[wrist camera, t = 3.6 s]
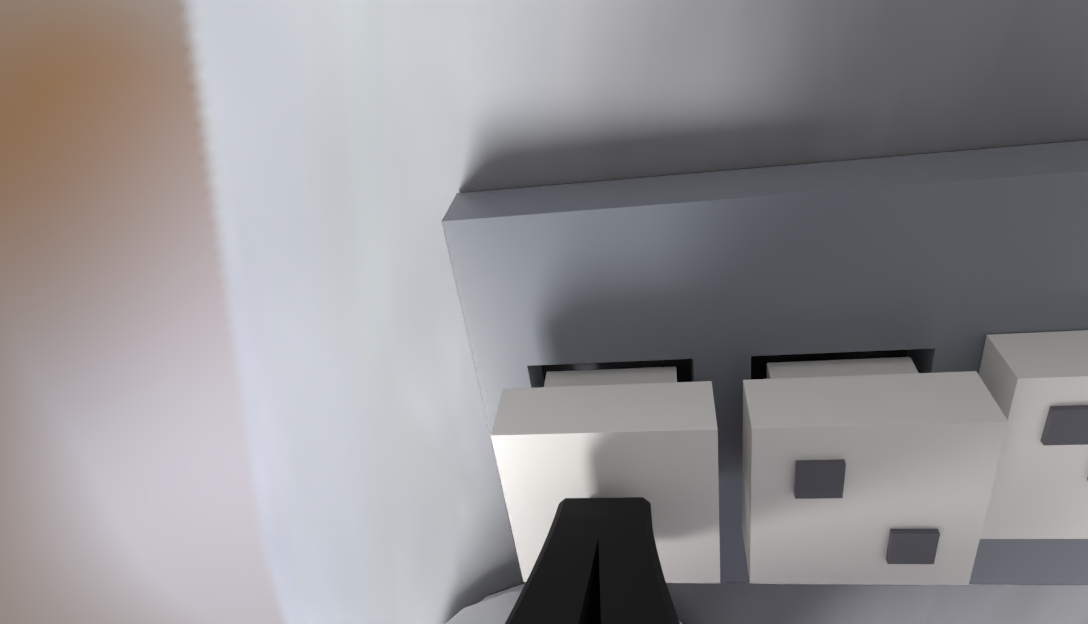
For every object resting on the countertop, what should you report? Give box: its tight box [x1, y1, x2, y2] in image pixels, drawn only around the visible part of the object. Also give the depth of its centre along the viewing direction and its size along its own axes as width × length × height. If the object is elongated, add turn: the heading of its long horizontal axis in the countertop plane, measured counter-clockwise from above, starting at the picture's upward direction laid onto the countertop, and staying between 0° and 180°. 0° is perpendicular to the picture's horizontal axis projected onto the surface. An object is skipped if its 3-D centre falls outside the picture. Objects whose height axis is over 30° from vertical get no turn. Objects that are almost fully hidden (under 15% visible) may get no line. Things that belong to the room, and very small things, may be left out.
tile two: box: [742, 357, 1008, 585], centre depth 13 cm, size 4×4×2 cm
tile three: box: [978, 330, 1088, 539], centre depth 13 cm, size 4×4×2 cm
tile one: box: [491, 367, 720, 583], centre depth 13 cm, size 4×4×2 cm
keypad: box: [442, 140, 1088, 585], centre depth 14 cm, size 9×13×1 cm
